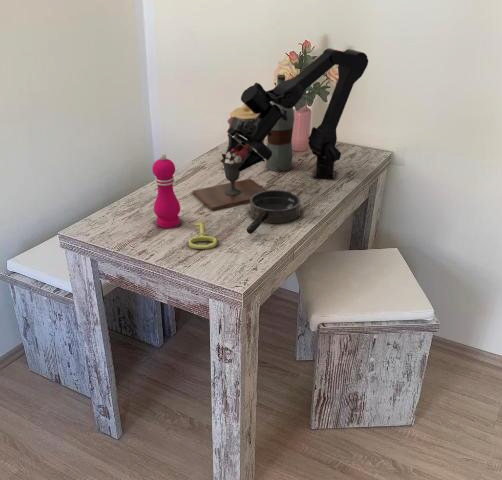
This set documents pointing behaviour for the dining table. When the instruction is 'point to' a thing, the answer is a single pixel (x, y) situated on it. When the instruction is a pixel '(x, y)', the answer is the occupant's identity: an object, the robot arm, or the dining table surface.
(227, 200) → the walnut board
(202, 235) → the key
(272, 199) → the skillet
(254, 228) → the skillet handle
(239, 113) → the kitchen canister
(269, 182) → the dining table surface
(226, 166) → the sundae
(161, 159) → the pepper mill
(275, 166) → the bottle
